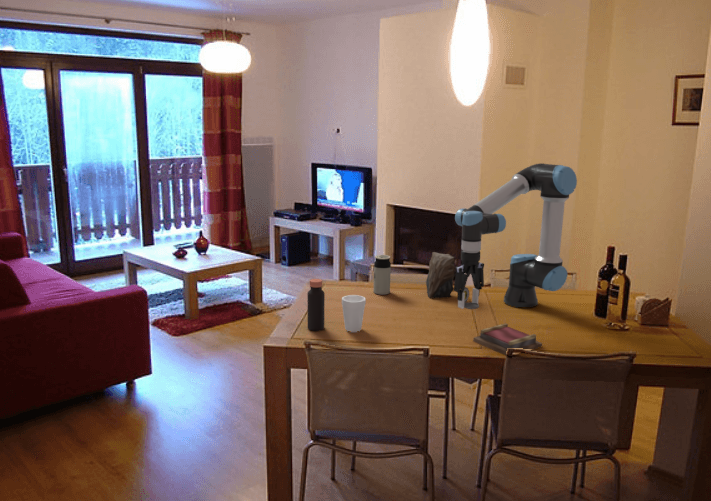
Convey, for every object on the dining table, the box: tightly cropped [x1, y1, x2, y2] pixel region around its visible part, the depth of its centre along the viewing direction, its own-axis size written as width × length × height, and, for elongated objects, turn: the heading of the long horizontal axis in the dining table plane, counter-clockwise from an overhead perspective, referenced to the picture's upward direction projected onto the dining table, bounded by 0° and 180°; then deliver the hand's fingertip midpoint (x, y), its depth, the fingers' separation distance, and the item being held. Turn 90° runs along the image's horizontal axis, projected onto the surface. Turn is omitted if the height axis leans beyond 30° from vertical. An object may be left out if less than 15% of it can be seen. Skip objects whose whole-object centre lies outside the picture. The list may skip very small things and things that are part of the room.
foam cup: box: [341, 294, 367, 333], centre depth 238 cm, size 10×9×13 cm
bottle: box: [306, 278, 326, 332], centre depth 237 cm, size 7×7×20 cm
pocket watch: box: [463, 284, 480, 310], centre depth 239 cm, size 8×8×10 cm
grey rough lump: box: [425, 251, 456, 300], centre depth 285 cm, size 13×13×20 cm
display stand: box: [472, 323, 543, 356], centre depth 226 cm, size 18×18×5 cm
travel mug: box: [372, 254, 392, 296], centre depth 287 cm, size 8×8×18 cm
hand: (468, 305), depth 240 cm, fingers closed on pocket watch, 7 cm apart
